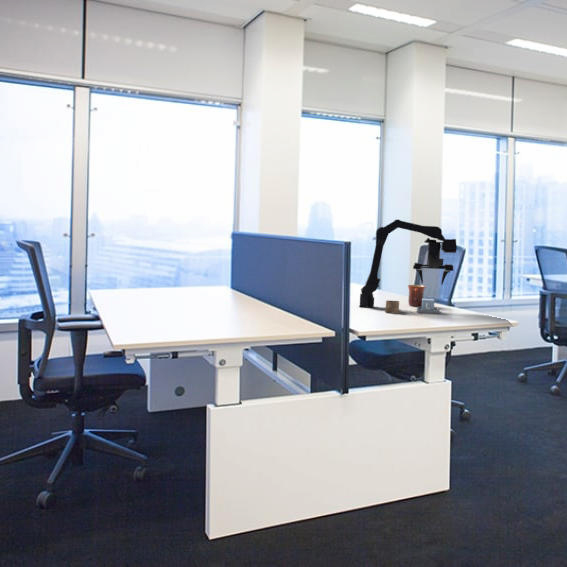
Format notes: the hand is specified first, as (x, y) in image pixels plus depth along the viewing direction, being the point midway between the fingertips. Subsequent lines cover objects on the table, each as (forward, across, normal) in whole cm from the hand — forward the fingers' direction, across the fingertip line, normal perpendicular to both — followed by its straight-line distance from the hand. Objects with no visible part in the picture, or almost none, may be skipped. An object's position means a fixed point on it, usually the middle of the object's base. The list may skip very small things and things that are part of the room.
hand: (431, 284), depth 288 cm
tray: (+12, -2, -8) cm, 15 cm away
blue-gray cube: (+12, -2, -8) cm, 14 cm away
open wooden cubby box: (+12, -18, -15) cm, 27 cm away
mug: (+13, -7, +9) cm, 17 cm away
